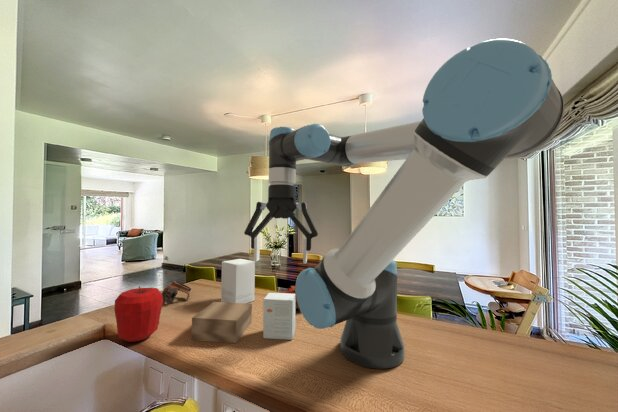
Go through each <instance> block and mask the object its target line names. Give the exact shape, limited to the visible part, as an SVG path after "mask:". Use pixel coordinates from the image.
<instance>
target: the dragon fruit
mask: <svg viewBox="0 0 618 412" xmlns="http://www.w3.org/2000/svg"><path fill="white" fill-rule="evenodd" d="M282 293H289V294H295V310H296V309H297V310H298V311H300V308H299V306H298V302H297V298H296V285H290V287H288V288H287V290H284V291H283V292H282Z"/></svg>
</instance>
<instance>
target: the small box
mask: <svg viewBox="0 0 618 412" xmlns="http://www.w3.org/2000/svg"><path fill="white" fill-rule="evenodd" d="M262 300H263V303H262V304H263V307H262V308H263V315H262V317H263V319H262V324H263V325H262V327H263V328H262V331H263V332H262V333H263V334H262V337H263V339H269V340H272V339H273V340H287V341H289V340H290V341H291V340H293V339H294V336H295V332H296V309H295V294H289V293H283V292H268V293H267V295H265V297H264V298H263V299H262Z"/></svg>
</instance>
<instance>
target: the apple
mask: <svg viewBox="0 0 618 412" xmlns="http://www.w3.org/2000/svg"><path fill="white" fill-rule="evenodd" d="M162 304H163V296H162V292H161V291H160V290H159V289H158V288H157V287H141V286H140V285H138V287H137V288H131V289H128V290H126V291H123V292H121V293H120V294H119V295H118V296H117V297H116V298H115V300H114V315H115V320H116V330H117V337H118V338H119V339H121V340H123V341H124V342H128V343H133V342H134V343H135V342H139V341H143V340H146V339H148V338H149V337H150V336H151V335H153V334H154V333H155V332H156V331H157V330H158V328H159V323H160V318H161V312H162V308H163V305H162Z"/></svg>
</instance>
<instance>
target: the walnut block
mask: <svg viewBox="0 0 618 412" xmlns="http://www.w3.org/2000/svg"><path fill="white" fill-rule="evenodd" d="M252 310H253V303H228V302H221V301H212V303H210V304H209V305H208V306H206V307H204V308H203V309H202V310H201V311H199V312H197V313H196V314H195V315H194V316H192V317H191V341H201V342H213V343H215V342H216V343H228V344H229V343H230V344H232V343H233V344H237V342H238V341H239V340H240V339H241V338H242V336H243V335H244V334H245V332H246V331H247V330H248V329H249V327H250V326H251V324H252V322H253V321H252V317H253V316H252V314H253V313H252V312H253V311H252Z"/></svg>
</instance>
